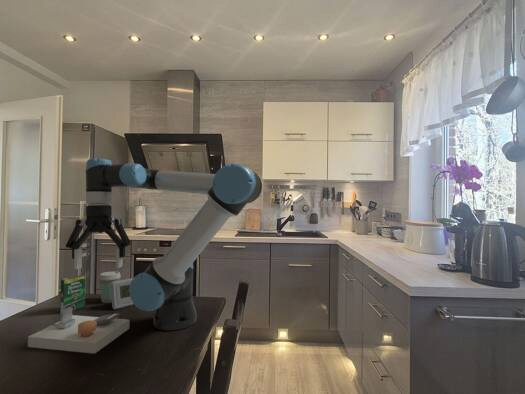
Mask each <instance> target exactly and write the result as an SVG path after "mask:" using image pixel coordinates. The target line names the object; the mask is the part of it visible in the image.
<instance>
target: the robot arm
mask: <svg viewBox="0 0 525 394" xmlns="http://www.w3.org/2000/svg"><path fill="white" fill-rule="evenodd" d="M84 172H85V204H86V206H85V217H86V218H85V219H82V218H81V219H76V220H75V225H74V226H75V227H74V228H73V230H72V232H71V234H70V236H69V238H68V240H67V242H66V244H65V248H69V249H71V258H72V259H73V262H74V263H73V266H74V267H73V268H74V269H73V270H79V269H82V268H83V267H82V265H83V264H82V263H83V262H82V261H83V249H82V247H81V246H82V245H83V244H84V242H85V241H86V240H87V239H89V236H90V235H91V234H94V233H95V234H96V233H100V234H101V233H104V234H107V235H108V237H109V238H110V239H111V240H112V242H114V243H115V244H116V246H117V248H116V250H115V253H116V256H115V259H116V261H115V263H116V264H115V265H116V269H120V268H123V258H125V256H126V247H128V246H131V244H132V242H131V240H130V238H129V235H127V233H126V230H125V229H124V227H123V225H122V224H123V223H122V222H123V221H122V219H121V218H114V219H112V215H113V213H112V211H113V210H112V209H113V207H112V205H110V204H112V199H113V198H112V196H113V195H112V194H113V193H112V192H113V191H112V190H113V188H116V187H117V188H118V187H119V188H122V187H123V188H124V187H127V188H136V189H137V188H138V189H145V190H146V189H147V190H153V191H154V190H155V191H167V192H168V191H169V192H180V193H189V194H200V195H207V200H206V201H205V202H204V204H203V205H202V207H201V208H200V209H199V210H198V211H197V212H196V214H195V215H194V217H193V218H192V219H191V220H190V221H189V222H188V224H187V226H186V227H185V228H184V229H183V230H182V231H181V233H180V235H179V236H178V237H177V238H176V239H175V241H174V242H173V243H172V245H171V246H170V247H169V248H168V250H167V251H166V252H165V253H164V254H163V256H157V257H155V259H153V261H152V262H151V263H150V265H149V266H148V267H147V268H145V269H146V270H144V271H142V272H140V273H138V274H137V275H135V276H134V277H132V278H133V280H132V281H131V283H130V286H129V292H130V298H131V300H132V302H133V303H134V306H135V307H136V308H137V309H139V310H141V311H144V312H152V311H155V313H154V316H153V323H152V324H153V326H154V327H155V329H158V330H162V331H177V330H184V329H186V328H188V327H189V328H190V327H191V326H193V325H194V324H195V323H196V322H197V316H198V314H197V310H196V307H195V303H194V300H193V289H194V288H193V287H194V286H193V282H194V262H195V260H197V258H198V257H199V256H200V255H201V253H202V252H203V251H204V249H205V248H206V247H207V245H209V243H210V242H211V241H212V240H213V238H214V237H215V236H216V234H217V233H219V231H220V230H221V228H223V226H224V225H225V223H226V222H227V221H228V220H229V218H231V217H237V216H238V215H239V214H240V213H241V212H242V210H243V209H244V208H245V207H246V206H247V204H250V203H253V202H254V201H256V200H257V199H258V198H259V196H260V195H261V194H262V190H263V183H262V180H261V178H260V176H259V175H258V174H257V173H256V172H255V171H254V170H251V169H250V168H248V167H247V166H246V165H243V164H240V163H239V164H238V163H229V164H226V165H224V166H222V167H221V168H219V169H218V170H217V172H216V173H206V172H205V173H204V172H202V173H201V172H193V171H192V172H190V171H189V172H188V171H178V170H163V169H152V168H146V167H145V168H144V166H142V164H140V163H132V162H129V163H121V164H120V163H119V164H118V163H117V164H113V163H112V160H110V159H106V158H89V159H87V161H86V165H85V171H84ZM112 224H113V226H114V228H115V230H116V231H117V233H116V231H114V229H113V227H112ZM85 225H86V228H85V229H84V231H83V232H82V230H83V228H84V226H85Z"/></svg>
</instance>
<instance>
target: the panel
mask: <svg viewBox="0 0 525 394" xmlns="http://www.w3.org/2000/svg"><path fill="white" fill-rule="evenodd" d="M99 317H100V316H99ZM99 317H98V316H89V315H78V314H77V315H76V314H75V315H74V314H72V319H75V323H74V324H72V325H70V326H68V327H66V328H56V327H57V323H59V322H60V320H59V321H57V322H56V323H52V324H51V325H49V326H47V327H46V328H44V329H42V330H39V331H37V332H35V333H33V334H31V335H28V336H27V347H28V348H35V349H36V348H37V349H46V350H53V351H56V350H57V351H65V352H75V353H84V354H85V353H86V354H97V352H99V351H100V350H102V349H103V348H105V347H106V346H107V345H109V344H111V343H112V342H113V341H114V340H116V339H117V338H119V337H120V336H121V335H123V333H126V332H127V331H128V330H129V329H130V324H131V323H130V321H131V320H130V319H126V318H116V319H114V320H112V321H111V322H108V323H101V324H97V328H96V330H95V331H93V332H91V336H89V337H83V334H79V333H78V325H79V324H80V323H82V322H85V321H90V320H95V319H97V318H99Z"/></svg>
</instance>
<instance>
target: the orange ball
mask: <svg viewBox="0 0 525 394" xmlns="http://www.w3.org/2000/svg"><path fill="white" fill-rule="evenodd" d="M96 328H97V321H94V320H90V321H85V322H82V323H80V324H79V325H78V333H79V334H83V337H89V336H91V332H93V331H95V330H96Z"/></svg>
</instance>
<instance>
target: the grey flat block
mask: <svg viewBox="0 0 525 394" xmlns="http://www.w3.org/2000/svg"><path fill="white" fill-rule="evenodd" d="M119 317H120V313H119V312H117V313H109V314H104V315H103V314H102V315H101V316H99V318H97V319H95V320H94V321H97V324H101V323H108V322H111V321H112V320H114V319H118V318H119Z"/></svg>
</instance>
